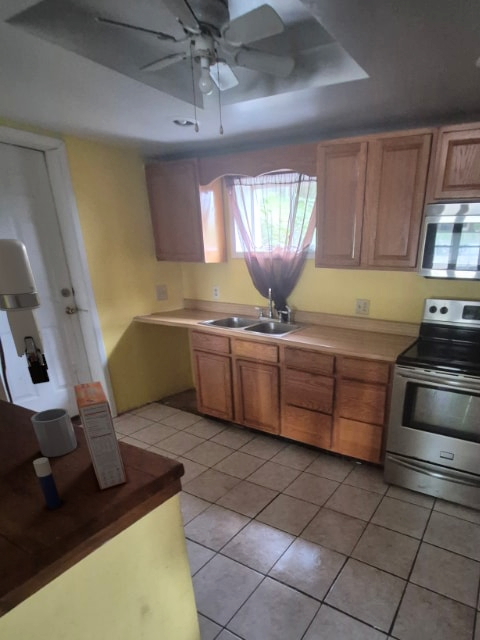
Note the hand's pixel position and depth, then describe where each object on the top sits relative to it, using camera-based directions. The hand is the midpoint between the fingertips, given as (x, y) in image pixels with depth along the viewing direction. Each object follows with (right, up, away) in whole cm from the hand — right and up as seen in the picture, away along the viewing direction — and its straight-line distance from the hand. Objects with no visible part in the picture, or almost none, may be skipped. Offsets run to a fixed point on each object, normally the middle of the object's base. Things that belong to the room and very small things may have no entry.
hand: (41, 376), depth 86 cm
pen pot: (-4, -19, +13) cm, 23 cm away
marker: (+9, -28, -8) cm, 30 cm away
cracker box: (+14, -23, +3) cm, 27 cm away
